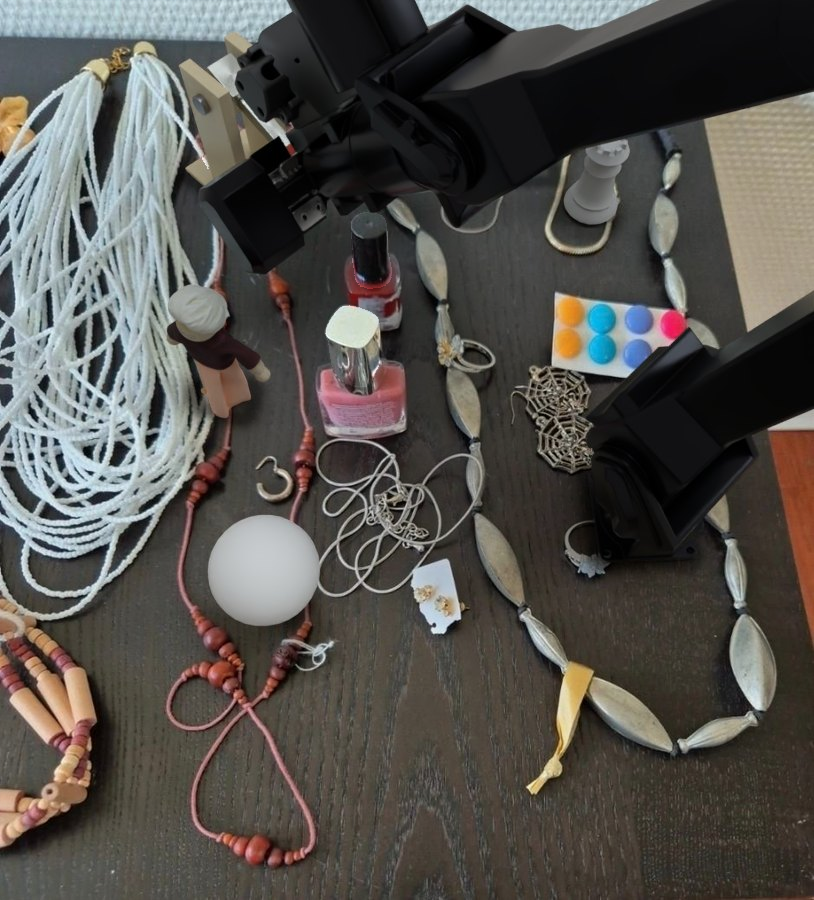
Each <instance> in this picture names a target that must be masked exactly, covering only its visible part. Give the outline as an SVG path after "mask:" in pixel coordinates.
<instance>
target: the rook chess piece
mask: <svg viewBox="0 0 814 900" xmlns="http://www.w3.org/2000/svg"><path fill="white" fill-rule="evenodd" d="M628 142H629V140H628V139H623V140H619V141H615V142H611V143H607V144H603V145H599V146H595V147H591V148H587V149H585V153H586V156H585V157H584V160H583V165H584V170H583V171H582V174H581V175H580V178H579V179H578V180H577V181H575V183H573V184H571V186H570V187H569V188H568V189H567V191H565V194H564V198H563V206H564V209H565V210H566V212H567V213H568V215H569V216H570V217H572V218H573V219H574V220H576V221H577V222H579V223H581V224H584V225H589V226H591V225H601V224H603V223H605V222H607V221H610V220H611V219H612V218H613V217H614V216H615V215H616V213H617V210H618V206H619V201H618V198H617V194H616V190H615V183H616V176H617V175H618V174H619V173H620V172H621V170H622V166H623V165H622V164H623V163H624V162H625V161H626V160H627V159H628V158H629V155H630V152H631V149H630V145H629V143H628Z"/></svg>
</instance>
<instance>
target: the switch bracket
mask: <svg viewBox="0 0 814 900" xmlns="http://www.w3.org/2000/svg"><path fill="white" fill-rule="evenodd" d="M223 39H224V40H223V41H224V44H225V49H226V52H227V54H229V53H230V52H231V53H232V54H233V55H234V56H235V57H236V58H237V57H239V56H240V55H242V54H243V53H245V52H247V48H249V47H251V46H252V45H253V44H252V43H251V42H249V40H247V39H246V38H244V37H243V36H242V35H240V34H239V33H238V32H236V31H235V30H233V31H232V32H230V33H228V34H227V35H225V36H224V37H223ZM178 68H179V71H180V74H181V77H182V81H183V84H184V87H185V90H186V94H187V97H188V101H189V104H190V108H191V111H192V113H193V118H194V122H195V124H196V127H197V130H198V134H199V137H200V140H201V144H202V148H203V150H204V153H205V154H204V155H203V156H205V157H206V160H207V162H208V164H209V167H208V168H209V169H207V166H206V165H205V163H204V162H203V160H202V156H201V157H199V158H198V159H196V160H195V161H193V162H192V163H191V164H189V165H187V166H186V167H185V171H186V172H187V173H188V174H190V176H191V177H192V178H194V179H195V180H196V181H197V182H198V183H199V184H200V185H201V186H202V187H203V186H205V185H206V184H207V183H209V182H210V181H212V180H213V179H215V178H216V177H218V176H219V175H221V174H222V173H224V172H225V171H227V170H228V169H229V168H231V167H233V166H234V165H236V164H238V163H240V162H241V161H243V160H245V159H248V158H249V157H250V156H251V155H252V154H253V153H254V152H256V151H257V150H259V149H260V148H262V147H263V146H264V145H266V144H267V143H269V142H268V140H267V139H266V138H265V137H264V136H263V135H262V134H261V132H260V131H259V130H258V129H257V128H256V127H255V126H254V124H253V123H252V122H251V121H250V120H249V119H248V118H247V116H246V115H245V114H244V113H243V112H242V111H241V112H240V113H241V116H242V122H243V125H244V128H243V129H241V130H240V128H239V124H238V121H237V115H235V111H234V107H233V103H232V99H231V95H230V91H229V90H228V89H226V88H225V87H224V86H223V85H222V84H220V83H219V82H218V81H217V80H215V79H214V78H213V77H212V76H211V75H209V74H208V73H207V70H205V69H204V68H202V67H201V66H200V65H199V64H197V63H196V62H195V61H194V60H192V59H191V58H187V59H186V60H185V61H183V62H181V63H180V64H179V65H178ZM274 119H275V120H276V121H277V123H278V124H279V125H280V126H281V127H282V128H283V129H284V131H285V132H286V133H287V132H288V131H287V127H286V125H285V124H284V123H282V121H281V120H280V119H278V118H274Z"/></svg>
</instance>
